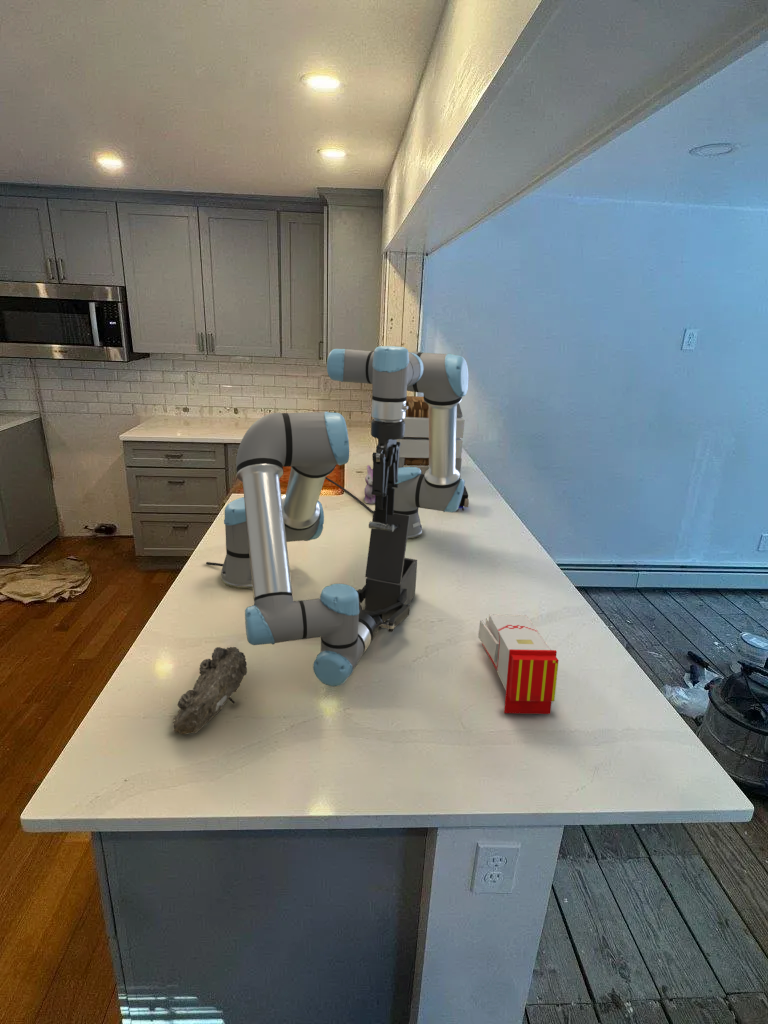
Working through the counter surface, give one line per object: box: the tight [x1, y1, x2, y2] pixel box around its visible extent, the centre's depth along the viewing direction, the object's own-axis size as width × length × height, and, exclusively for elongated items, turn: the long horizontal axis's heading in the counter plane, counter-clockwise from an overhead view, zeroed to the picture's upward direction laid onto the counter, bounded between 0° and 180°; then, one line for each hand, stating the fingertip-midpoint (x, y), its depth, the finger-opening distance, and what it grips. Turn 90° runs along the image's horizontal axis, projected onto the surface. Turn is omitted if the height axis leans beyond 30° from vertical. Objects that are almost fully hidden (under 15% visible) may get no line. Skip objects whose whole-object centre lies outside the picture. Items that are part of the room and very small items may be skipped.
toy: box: [477, 613, 560, 715], centre depth 124 cm, size 12×13×30 cm
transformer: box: [397, 395, 465, 475], centre depth 268 cm, size 34×33×41 cm
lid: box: [364, 509, 410, 584], centre depth 136 cm, size 17×9×9 cm
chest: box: [364, 557, 418, 622], centre depth 150 cm, size 16×9×11 cm, turn 162°
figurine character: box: [458, 485, 470, 512], centre depth 229 cm, size 7×8×15 cm
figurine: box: [363, 464, 375, 505], centre depth 230 cm, size 9×10×15 cm
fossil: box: [172, 646, 248, 736], centre depth 111 cm, size 22×10×15 cm
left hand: (386, 590), depth 145 cm, fingers closed on chest, 9 cm apart
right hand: (384, 517), depth 133 cm, fingers open, 5 cm apart
